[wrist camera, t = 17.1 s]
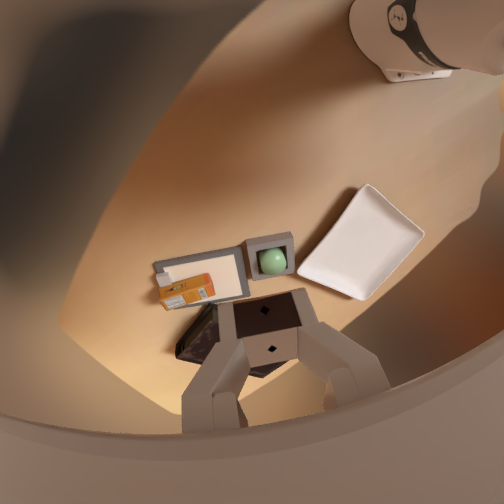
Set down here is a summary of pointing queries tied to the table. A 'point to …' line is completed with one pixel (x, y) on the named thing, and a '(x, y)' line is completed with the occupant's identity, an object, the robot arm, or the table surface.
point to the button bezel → (267, 243)
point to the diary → (210, 342)
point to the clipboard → (217, 265)
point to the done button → (272, 261)
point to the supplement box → (186, 292)
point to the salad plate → (362, 246)
